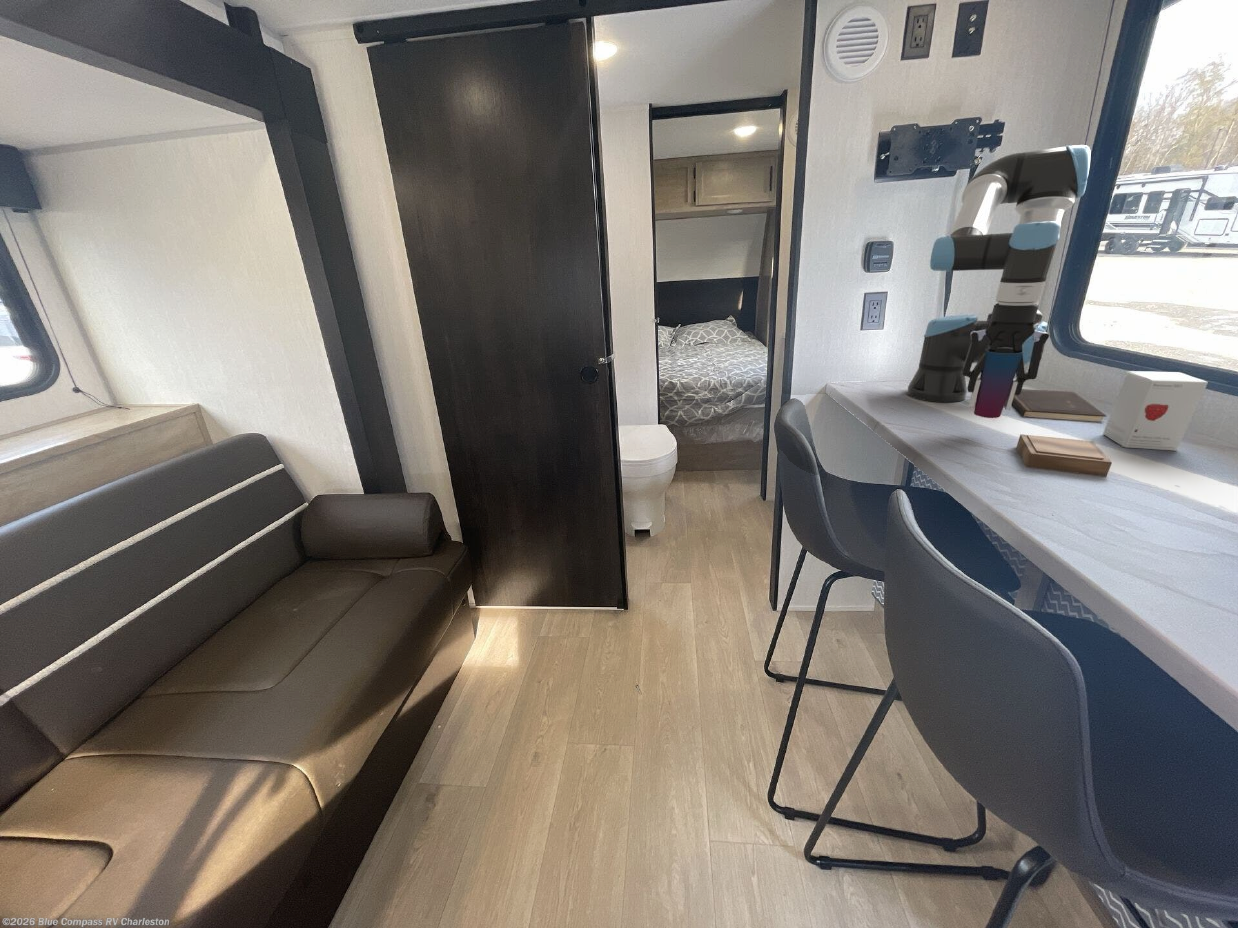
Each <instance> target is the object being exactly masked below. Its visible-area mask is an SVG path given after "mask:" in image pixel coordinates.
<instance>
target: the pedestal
mask: <svg viewBox="0 0 1238 928" xmlns="http://www.w3.org/2000/svg"><path fill="white" fill-rule="evenodd" d="M1016 448H1017V450H1018V453H1019V455H1020V457H1021V458H1022V459H1023V462H1024V464H1025V466H1026V468H1033V469H1041V470H1048V471H1049V470H1050V471H1055V472H1056V471H1057V472H1067V473H1072V474H1080V475H1091V476H1096V477H1097V476H1099V477H1107V476H1108V474H1109V471H1110V468H1111V466H1112V464H1113V461H1111V459H1110V458H1109V457H1108V456H1107V455H1106V454H1105V453H1104V452H1103V450H1102V449H1100V447H1099V446H1098V445H1097V444H1096V443H1095V442H1094V441H1092V440H1085V439H1084V440H1083V439H1082V440H1081V439H1073V438H1062V437H1051V436H1042V435H1032V434H1031V435H1030V434H1024V433H1023V434H1019V438H1018V441H1017V443H1016Z"/></svg>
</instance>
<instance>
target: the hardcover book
mask: <svg viewBox="0 0 1238 928" xmlns="http://www.w3.org/2000/svg"><path fill="white" fill-rule="evenodd" d="M1011 406H1013V407H1014V409H1016V410H1017V412H1018V413H1019V414H1020V415H1021V416H1022V417H1023V416H1028V417H1027V418H1039V419H1040V418H1041V419H1054V420H1056V419H1057V420H1070V421H1083V422H1084V421H1085V422H1096V423H1097V422H1100V423H1101V422H1102V421H1103V419H1104V418H1105V417H1107V414H1105V413H1104V412H1102V411H1101V410H1099V409H1098V408H1097V407H1095V406H1094V405H1093V404H1091V403H1090V402H1089V401H1087V400H1086V399H1084V398H1083V397H1082V396H1080V395H1078V394H1077V393H1076V392H1075V391H1066V390H1065V391H1062V390H1045V389H1044V390H1043V389H1042V390H1041V389H1023V388H1022V390H1021V393H1020V394H1019V395H1014V397H1013V401H1012V404H1011Z"/></svg>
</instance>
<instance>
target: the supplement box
mask: <svg viewBox="0 0 1238 928" xmlns="http://www.w3.org/2000/svg"><path fill="white" fill-rule="evenodd" d="M1122 381H1123V382H1122V384H1121V386H1120V388H1119V390H1118V394H1117V397H1116V399H1115V401H1114V405H1113V406H1112V409H1111V411H1110V414H1109V416H1108V419H1107V422H1106V425H1105V426H1104V430H1103V433H1102V435H1104V436H1106V437H1108V438H1109V439H1111V440H1112V441H1113V442H1115V443H1116V444H1118V445H1120V446H1122V447H1123V448H1129V449H1143V450H1146V449H1148V450H1160V451H1176V452H1177V451H1178V448H1179V447H1180V445H1181V442H1182V440H1183V437H1184V436H1185V433H1186V432H1187V429H1188V426H1189V425H1190V423H1191V421H1192V419H1193V416H1194V414H1195V411H1196V409H1197V407H1198V405H1199V404H1200V401H1201V399H1202V397H1203V394H1204V392H1205V390H1206V388H1207V386H1208V383H1209V382H1208V381H1206V380H1204V379H1201V378H1198V377H1195V376H1191V375H1190V374H1186V373H1184V372H1179V371H1146V370H1145V371H1141V370H1138V371H1137V370H1136V371H1135V370H1127V371H1126V374H1125V376H1124V379H1123V380H1122Z"/></svg>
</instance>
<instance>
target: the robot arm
mask: <svg viewBox="0 0 1238 928" xmlns="http://www.w3.org/2000/svg"><path fill="white" fill-rule="evenodd" d="M1090 166H1091V149H1090V147H1089V146H1088V145H1085V144H1079V145H1065V146H1060V147H1053V148H1052V147H1051V148H1046V149H1045V148H1044V149H1040V150H1032V151H1025V152H1024V151H1023V152H1016V153H1011V154H1009V155H1005V156H1003V157H1000V158H998V159H996V160H993V161H992V162H990V163H989V164H987V165H985V166H984V167H982V168H981V169H980V170H979V171H978V172H977V173H975V174H974V176H972V178H970V180H969V181H968V182H967V184H966V186H965V187H964V190H963V192H962V195H961V202H962V204H961V207H960V209H959V212H958V214H957V216H956V219H955V222H954V224H953V225H952V228H951V231H950V233H949V235H947V236H942V237H937V238H936V239H935V241H934V242H933V246H932V250H931V254H930V261H929V265H930V266H929V267H930V270H932V271H934V272H935V271H937V272H939V271H940V272H947V273H948V272H958V271H959V272H960V271H964V272H965V271H994V270H995V271H996V270H997V271H998V270H999V271H1000V270H1002V275H1001V277H1000V281H999V285H998V289H997V292H996V296H995V301H996V302H997V303H995V304H994V305H993V309H992V311H990V312H989V313H988V315H987V319H986V320H978V319H979V317H978V315H976V314H959V315H958V314H957V315H950V316H949V315H948V316H942V317H936V318H934V319H932V320H930V321H928V323H927V326H926V330H925V334H924V335H923V337H924V338H923V343H922V348H921V354H920V359H919V363H918V368H917V371H916V372H915V374H914V375H913V377H912V379H911V380H910V382H909V383H908V386H907V392H906V395H908V396H909V397H910V398H914V399H917V400H922V401H927V402H934V403H936V402H937V403H955V402H961V401H964V400H965V399H966V398H967V394H968V393H970V399H969V402H968V405H969V407H970V408H975V404H976V398H977V394H978V390H979V386H980V382H981V379H980V375H981V371H982V370H983V368H984V366H985V360H986V354H987V353H986V354H984V352H985V349H986V348H987V351H989V352H995V351H996V350H997V348H1002V347H1007V348H1013V351H1014V353H1021V352H1022V350H1023V351H1024V352H1023V354H1022V357H1021V359H1020V362H1019V365H1018V368H1017V371H1016V374H1015V377H1016V378H1014V380H1013V382H1012V385H1011V388H1010V391H1009V393H1008V396H1007V399H1006V402H1005V404H1004V407H1003V408H1005V410H1007V411H1010V410H1011V409H1012V401H1013V397H1014V395H1019V394H1020V393H1021V390H1022V389H1023V387H1024V383H1025V382H1026V381H1029V380H1035V379H1036V378H1037V377H1038V373H1039V368H1040V363H1041V359H1042V353H1043V349H1044V345H1045V344H1046V342H1047V341H1048V340H1049V338H1050V334H1049V333H1048V332H1046V330H1047V327H1048V325H1049V324H1048V322H1045V321H1042V320H1043V317H1044V316H1043V313H1042V312H1041V311H1040V310H1039V303H1040V301H1041V299H1042V296H1043V293H1044V288H1045V284H1046V282H1047V278H1048V277H1047V276H1048V274H1049V271H1050V267H1051V264H1052V261H1053V257H1054V255H1055V251H1056V247H1057V244H1058V242H1059V239H1060V232H1061V228H1062V219H1063V216H1064V213H1065V211H1068V209H1070V208H1071V207H1072V206H1074V203H1075V200H1076V199H1078V198H1081V197H1083V196H1084V194H1085V193H1086V192H1085V191H1086V188H1087V185H1088V184H1087V183H1088V177H1089V172H1090ZM1004 204H1016V205H1015V208H1014V209H1015V211H1016V212H1017V213H1018V214H1019V216H1020V217H1019V221H1018V224H1016V225H1015V226H1014V228H1013V230H1012V232H1007V233H989V234H988V232H989V229H990V227H991V224H992V221H993V219H994V216H995V213H996V210H997V207H998V206H999V205H1004ZM973 364H975V366H974V368H973V369H972V370H971V368H972V365H973ZM1027 365H1028V371H1027V372H1025V366H1027ZM966 377H967V378H969V379H968V383H967V381H966V380H967V379H966Z"/></svg>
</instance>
